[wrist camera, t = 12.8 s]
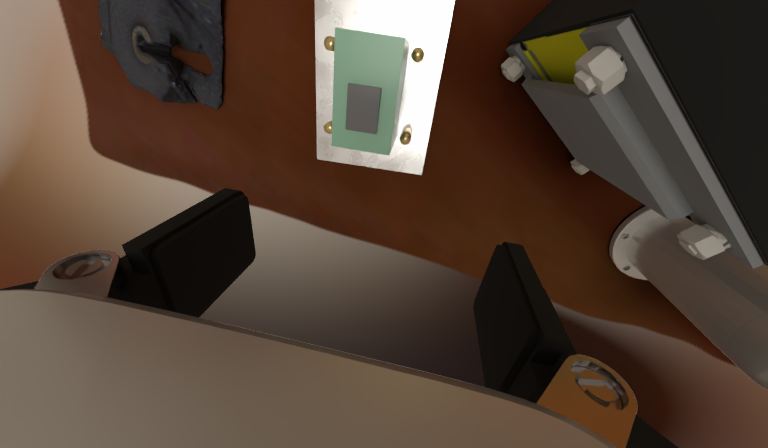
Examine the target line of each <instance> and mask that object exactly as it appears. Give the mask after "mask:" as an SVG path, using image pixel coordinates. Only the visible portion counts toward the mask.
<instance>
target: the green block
mask: <svg viewBox="0 0 768 448" xmlns="http://www.w3.org/2000/svg"><path fill="white" fill-rule="evenodd" d="M409 46H410V43H409V42H408V40H407V39H406V38H405V37H398V36H391V35H384V34H378V33H371V32H364V31H357V30H350V29H343V28H336V27H335V44H334V77H333V110H332V144H331V146H335V147H341V148H347V149H353V150H359V151H364V152H370V153H376V154H382V155H388V156H389V155H390V152H391V150H392V147H393V145H394V142H395V140H396V134H397V127H398V121H399V114H400V107H401V100H402V94H403V87H404V80H405V73H406V67H407V60H408V53H409Z"/></svg>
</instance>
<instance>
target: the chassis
mask: <svg viewBox="0 0 768 448" xmlns="http://www.w3.org/2000/svg"><path fill="white" fill-rule="evenodd" d="M454 3H455V0H315V51H316V119H317V159H319V160H326V161H332V162H339V163H346V164H352V165H359V166H365V167H372V168H378V169H385V170H392V171H398V172H405V173H411V174H418V175H422V171H423V166H424V161H425V156H426V150H427V145H428V140H429V135H430V129H431V124H432V119H433V114H434V108H435V103H436V98H437V93H438V87H439V82H440V77H441V72H442V66H443V61H444V56H445V50H446V45H447V40H448V35H449V29H450V24H451V19H452V14H453V8H454ZM335 27H336V28H343V29H350V30H357V31H364V32H371V33H378V34H384V35H391V36H398V37H405V38H406V39H407V40H408V42H409V43H410V46H409V53H408V60H407V67H406V73H405V80H404V87H403V94H402V100H401V107H400V114H399V121H398V127H397V134H396V140H395V142H394V145H393V147H392V150H391V152H390V155H389V156H388V155H382V154H376V153H370V152H364V151H359V150H353V149H347V148H341V147H335V146H331V144H332V110H333V77H334V44H335Z"/></svg>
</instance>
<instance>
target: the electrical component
mask: <svg viewBox="0 0 768 448" xmlns="http://www.w3.org/2000/svg"><path fill="white" fill-rule="evenodd" d="M509 44H510V46H509V47H508V48H507V49H506V51H507V53H508V54H509V56H510V57H509V58H508V59H507V60H506V61H505V62H504V63H503V64H501V69H502V73H503V75H504V76H505V77H506V78H507V79H508V80H510V81H512V82H515V81H516V80H517V79H518V78H520V77H521V76H522V74H523V75H524V77H525V78H526V80H524V82H523V83H522V84H521V85H522V86H523V88H524V89H525V90H526V92H527V93H528V95H529V96H530V97H531V99H532V100H533V101H534V103H535V104H536V106H537V107H538V108H539V110H540V111H541V112H542V114H543V115H544V117H545V118H546V119H547V121H548V122H549V123H550V125H551V126H552V128H553V129H554V130H555V132H556V133H557V135H558V136H559V137H560V139H561V140H562V141H563V143H564V144H565V146H566V147H567V148H568V150H569V151H570V152H571V154H572V155H573V157H574V158H575V159H574V160H573V161H571V162H570V163H571V167H572V168H573V169H574V171H575V172H577V173H579V174H581V175H583V174H585V173H586V172H588V171H589V170H591V171H593V172H594V173H596V174H597V175H599V176H600V177H602V178H604V179H605V180H607V181H608V182H610V183H611V184H613V185H615V186H616V187H618V188H619V189H621V190H622V191H624V192H625V193H627V194H629V195H630V196H632V197H633V198H635V199H636V200H638V201H639V202H641V203H643V204H644V205H646V206H647V207H649V208H650V209H652V210H654V211H655V212H657V213H658V214H660V215H661V216H663V217H664V218H666V219H668V220H676V219H682V218H684V217H685V218H687V219H689V220H690V221H692V222H694V224H695V225H694V226H692V227H690V228H688V229H686V230H684V231H682V232H680V233H679V234H677V235H676V236H677V237H678V239H679V240H680V241H679V243H680V244H681V245H682V247H683V248H684V249H685V250H686V251H688V252H689V253H690V254H691V255H693V256H696V257H698V258H700V259H702V260H704V259H707V258H709V257H712V256H714V255H716V254H719V253H721V252H723V251H726V252H727V253H729V254H730V255H732V256H734V257H735V258H737V259H738V260H740V261H742V262H743V263H745V264H747V265H748V266H750V267H751V268H753V269H754V268H756V267H759V266H761V265H764V264H765V265H767V266H768V0H553V1H552V2H551V3H550V4H549V5H548V6H547V7H545V8H544V9H543V10H542V11H541V12H540V13H539V14H538V15H537V16H536V17H535V18H534V19H533V20H532V21H531V22H530V23H529V24H528V25H527V26H526V27H525V28H524V29H523V30H522V31H521V32H519V33H518V34H517V35H516V36H515V37H514V38H513V39H512V40H511V41H510V42H509Z"/></svg>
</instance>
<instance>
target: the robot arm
mask: <svg viewBox="0 0 768 448" xmlns="http://www.w3.org/2000/svg"><path fill="white" fill-rule="evenodd" d="M694 225H695V224H694V222H692V221H690V220H689V219H687V218H685V217H684V218H682V219H676V220H668V219H666V218H664V217H663V216H661V215H660V214H658V213H657V212H655V211H654V210H652V209H650V208H649V207H647V206H645V207H643V208H641V209H640V210H638V211H636V212H635V213H633V214H632V215H631V216H629V217H628V218H627V219H626V220H625V221H624V222H623V223H622V224H621V225H620V226H619V227H618V228H617V230H616V231H615V233H614V234H613V237H612V239H611V241H610V246H609V254H610V257H611V260H612V262H613V263H614V264H615V266H616V267H617V268H618V269H619V270H620V271H621V272H623V273H625V274H626V275H628V276H630V277H633V278H636V279H642V280H649V281H650V282H651V283H652V284H653V285H654V286H655V287H656V288H657V289H658V290H659V291H660V292H661V293H662V294H663V295H664V296H665V297H666V298H667V299H668V300H669V301H670V302H671V303H672V304H673V305H674V306H675V307H676V308H677V309H678V310H680V311H681V312H682V313H683V314H684V315H685V316H686V317H687V318H688V319H689V320H690V321H691V322H692V323H693V324H694V325H695V326H696V327H697V328H698V329H699V330H700V331H701V332H702V333H703V334H704V335H705V336H706V337H707V338H708V339H709V340H710V341H711V342H712V343H713V344H715V345H716V346H717V347H718V348H719V349H720V350H721V351H722V352H723V353H724V354H725V355H726V356H727V357H728V358H729V359H730V360H731V361H732V362H733V363H734V364H735V365H736V366H737V367H738V368H740V369H741V370H742V371H743V372H744V373H745V374H746V375H747V376H748V377H750V378H751V379H752V380H753V381H754V382H756V383H757V384H759V385H760V386H762V387H763V388H765V389H767V390H768V266H767V265H765V264H764V265H761V266H759V267H756V268H754V269H753V268H751V267H750V266H748V265H747V264H745V263H743V262H742V261H740V260H738V259H737V258H735V257H734V256H732V255H730V254H729V253H727V252H726V251H723V252H721V253H719V254H716V255H714V256H712V257H709V258H707V259H704V260H702V259H700V258H698V257H696V256H693V255H691V254H690V253H689V252H688V251H686V250H685V249H684V248H683V247H682V245H681V244H680V243H679V241H680V240H679V239H678V237H677V236H676V235H677V234H679V233H680V232H682V231H684V230H686V229H688V228H690V227H692V226H694ZM122 246H123V249H124V251H125V253H126V255H125V256H124V257H122V258H120V257H119V255H118V254H117V253H116V252H114V251H111V250H90V251H86V252H81V253H77V254H74V255H71V256H68V257H66V258H64V259H61V260H59V261H57V262H56V263H54V264H53V265H51V266H50V267H49V268H48V269H47V270H46V271H45V272H44V274H43V275H42V277H41V278H40V280H39V281H37V282H32V283H27V284H23V285H18V286H13V287H9V288H4V289H0V448H678V447H677V446H675V445H674V444H673V443H672V442H670V441H669V440H668V439H666V438H665V437H664V436H662V435H661V434H660V433H659V432H657V431H656V430H655V429H654V428H652V427H651V426H650V425H649V424H647V423H646V422H645V421H644V420H642V419H641V418H640V417H639V416H637V415H636V413H637V401H636V399H635V396H634V393H633V392H632V390H631V389H630V387H629V386H628V384H627V383H626V382H625V381H624V380H623V379H622V378H621V377H620V376H619V375H618V374H617V373H616V372H615V371H613V370H612V369H611V368H610V367H608V366H607V365H605V364H603V363H602V362H600V361H598V360H596V359H594V358H591V357H589V356H584V355H578V354H576V352H575V350H574V348H573V346H572V344H571V341H570V340H569V337H568V335H567V333H566V331H565V329H564V327H563V325H562V323H561V321H560V319H559V317H558V315H557V313H556V311H555V309H554V307H553V305H552V303H551V301H550V299H549V297H548V295H547V293H546V291H545V289H544V288H543V286H542V284H541V282H540V280H539V278H538V276H537V274H536V272H535V270H534V268H533V266H532V264H531V262H530V260H529V258H528V256H527V254H526V252H525V249H524V247H523V246H522V245H519V244H513V243H508V242H504V243H503V244H502V245H497V246H496V248H495V250H494V253H493V255H492V258H491V260H490V263H489V265H488V268H487V270H486V273H485V275H484V278H483V280H482V283H481V285H480V288H479V290H478V293H477V295H476V298H475V301H474V316H475V322H476V329H477V336H478V342H479V348H480V356H481V362H482V369H483V375H484V382H485V387H482V386H478V385H474V384H470V383H467V382H463V381H459V380H455V379H451V378H447V377H444V376H440V375H436V374H432V373H428V372H424V371H420V370H416V369H412V368H407V367H403V366H399V365H395V364H391V363H387V362H383V361H379V360H374V359H371V358H367V357H362V356H358V355H354V354H350V353H346V352H342V351H337V350H333V349H329V348H325V347H321V346H317V345H312V344H308V343H304V342H300V341H296V340H292V339H287V338H283V337H279V336H275V335H270V334H266V333H262V332H258V331H254V330H249V329H245V328H241V327H237V326H232V325H228V324H224V323H219V322H215V321H211V320H206V319H202V318H199V317H200V316H201V315H202V314H203V313H204V312H205V311H206V310H207V309H208V308H209V307H210V306H211V304H212V303H213V302H214V301H215V300H216V299H217V298H218V297H219V296H220V295H221V294H222V293H223V292H224V291H225V290H226V289H227V288H228V287H229V286H230V285H231V284H232V283H233V282H234V281H235V279H237V278H238V277H239V275H241V273H242V272H243V271H244V270H245V269H246V268H247V267H248V266H249V265H250V264H251V263H252V262H253V261H254V259H255V255H256V254H255V245H254V239H253V231H252V224H251V216H250V209H249V202H248V198H247V197H246V196H245V195H244V193H243V192H242V191H238V190H233V189H227V188H225V189H223V190H221V191H219V192H217V193H216V194H214V195H212V196H210V197H208V198H206V199H205V200H203V201H201V202H199V203H197V204H196V205H194V206H192V207H190V208H188V209H187V210H185V211H183V212H181V213H179V214H177V215H176V216H174V217H172V218H170V219H168V220H167V221H165V222H163V223H161V224H159V225H158V226H156V227H154V228H152V229H151V230H149V231H147V232H145V233H143V234H141V235H140V236H138V237H136V238H134V239H132V240H130V241H129V242H127V243H125V244H123V245H122Z"/></svg>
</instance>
